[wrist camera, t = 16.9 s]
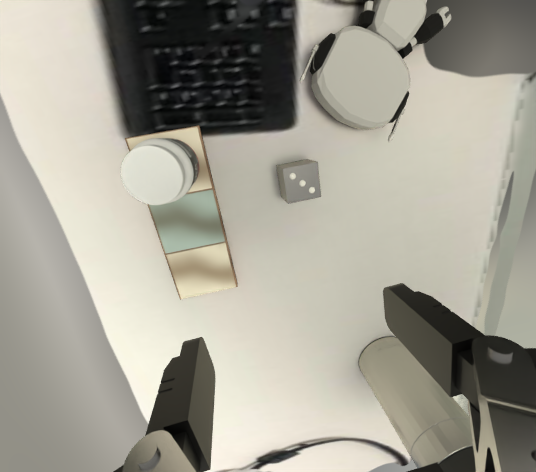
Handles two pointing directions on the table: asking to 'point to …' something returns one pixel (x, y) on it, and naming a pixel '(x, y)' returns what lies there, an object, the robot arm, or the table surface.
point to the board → (193, 227)
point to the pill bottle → (159, 170)
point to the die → (299, 180)
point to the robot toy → (372, 62)
